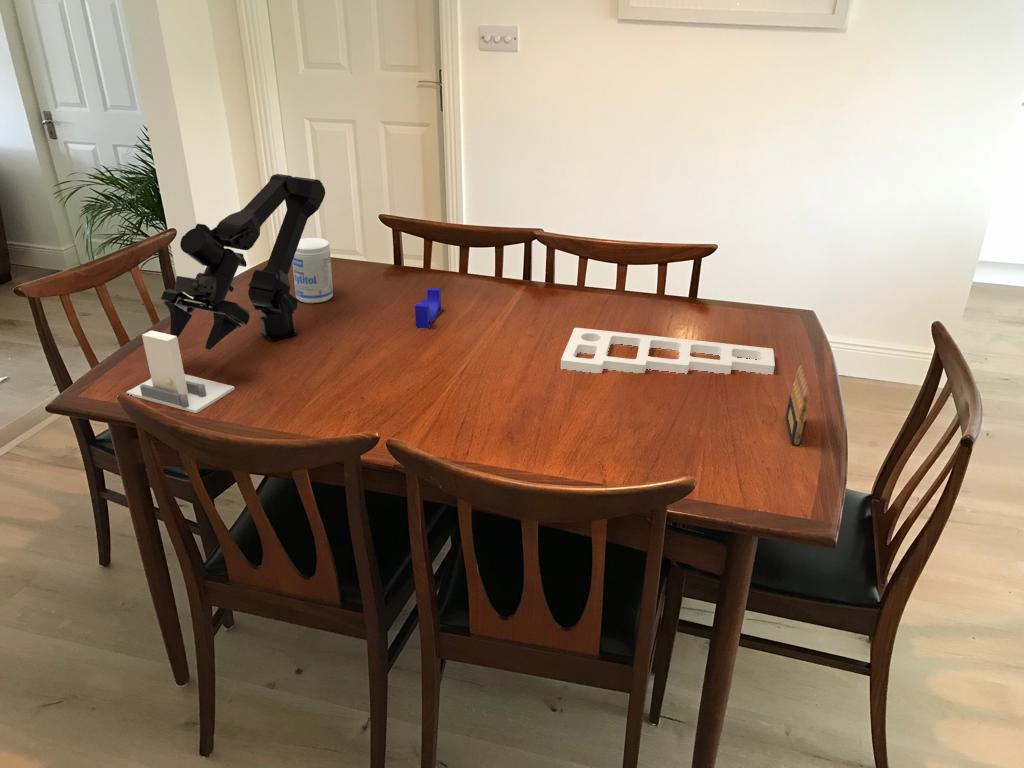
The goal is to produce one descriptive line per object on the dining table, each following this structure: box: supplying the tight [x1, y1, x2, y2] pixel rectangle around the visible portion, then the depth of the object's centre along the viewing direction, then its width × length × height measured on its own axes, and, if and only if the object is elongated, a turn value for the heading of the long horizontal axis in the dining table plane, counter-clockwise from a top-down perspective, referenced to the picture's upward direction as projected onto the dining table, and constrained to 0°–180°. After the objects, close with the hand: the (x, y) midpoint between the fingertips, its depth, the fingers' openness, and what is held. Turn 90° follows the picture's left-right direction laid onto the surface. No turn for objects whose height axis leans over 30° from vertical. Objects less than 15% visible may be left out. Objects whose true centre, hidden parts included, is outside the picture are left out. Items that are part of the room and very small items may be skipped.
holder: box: [560, 327, 776, 376], centre depth 180 cm, size 45×18×3 cm, turn 77°
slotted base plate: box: [125, 373, 235, 414], centre depth 165 cm, size 11×18×3 cm, turn 66°
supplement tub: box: [291, 237, 334, 304], centre depth 208 cm, size 10×10×15 cm
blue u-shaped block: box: [414, 287, 442, 329], centre depth 199 cm, size 12×4×6 cm, turn 169°
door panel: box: [141, 330, 188, 396], centre depth 160 cm, size 4×6×13 cm, turn 66°
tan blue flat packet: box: [785, 364, 810, 446], centre depth 152 cm, size 11×2×12 cm, turn 169°
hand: (189, 344), depth 165 cm, fingers open, 9 cm apart
